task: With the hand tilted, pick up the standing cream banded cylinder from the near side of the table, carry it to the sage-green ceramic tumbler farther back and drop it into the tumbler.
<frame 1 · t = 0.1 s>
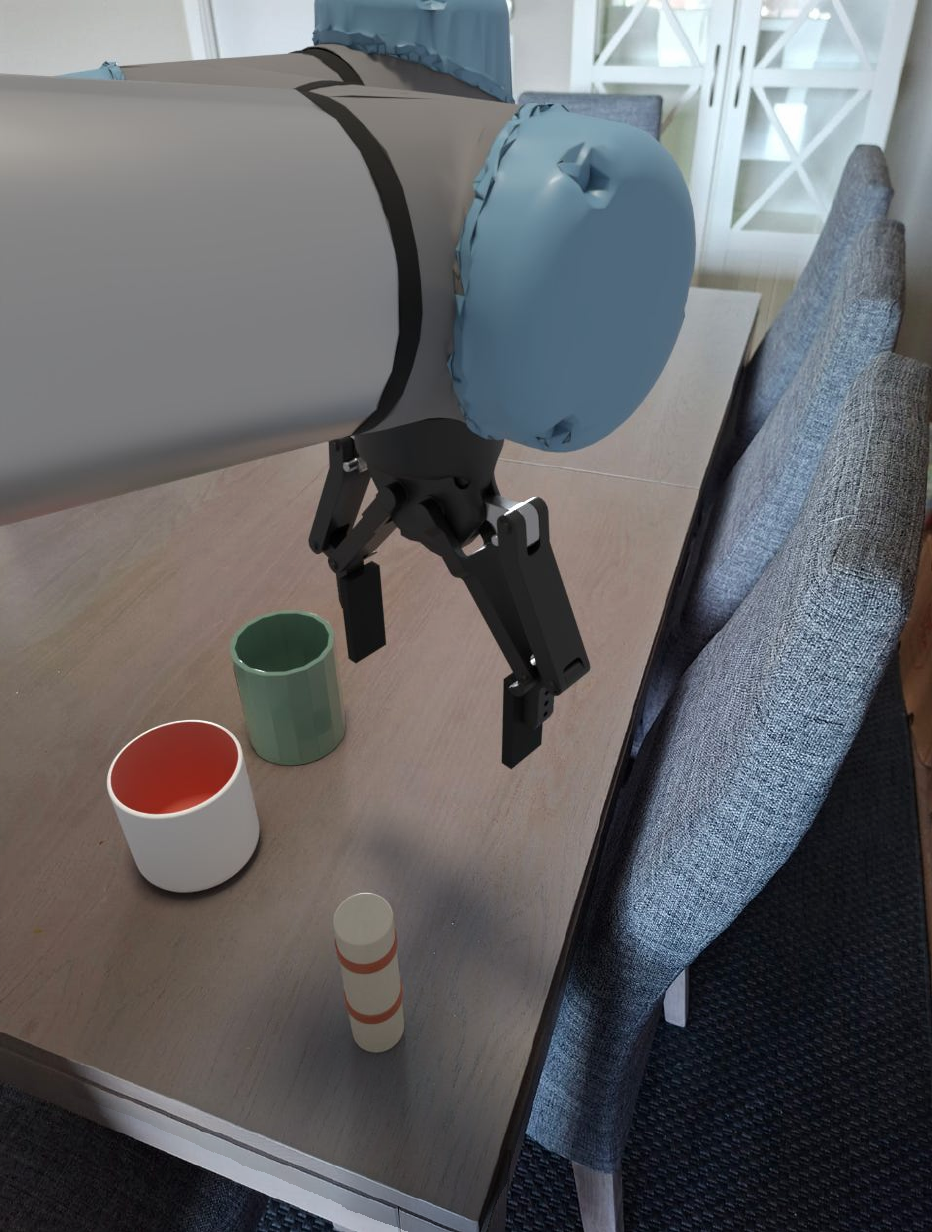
hand: (439, 699, 55), 22 cm above the table, tool pointing down, fingers open, 13 cm apart
cream banded cylinder: (378, 1026, 60), on the table
tumbler: (298, 730, 83), on the table
cup: (201, 849, 73), on the table
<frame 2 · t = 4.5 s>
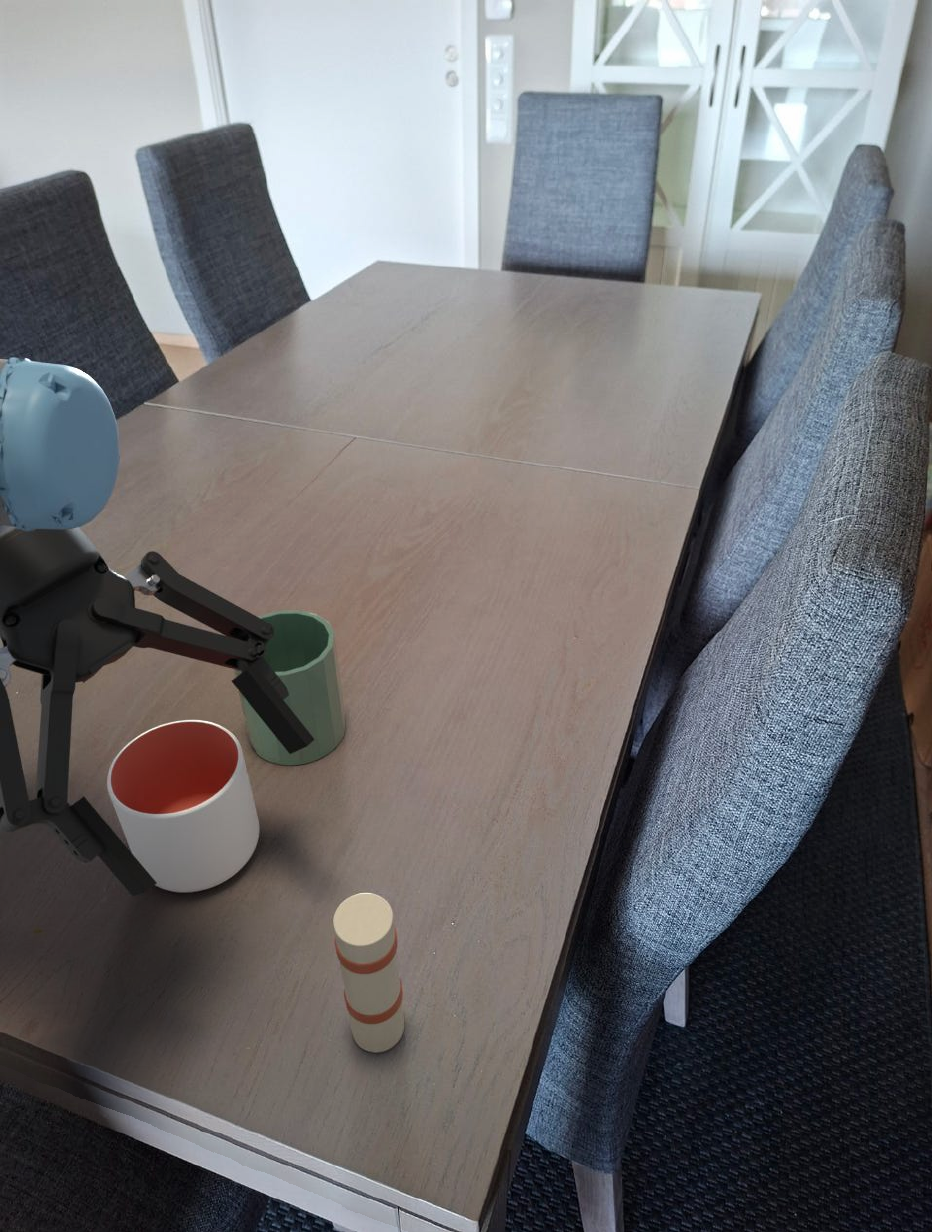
hand: (230, 813, 55), 16 cm above the table, tool tilted 45°, fingers open, 13 cm apart
nothing on the table moved.
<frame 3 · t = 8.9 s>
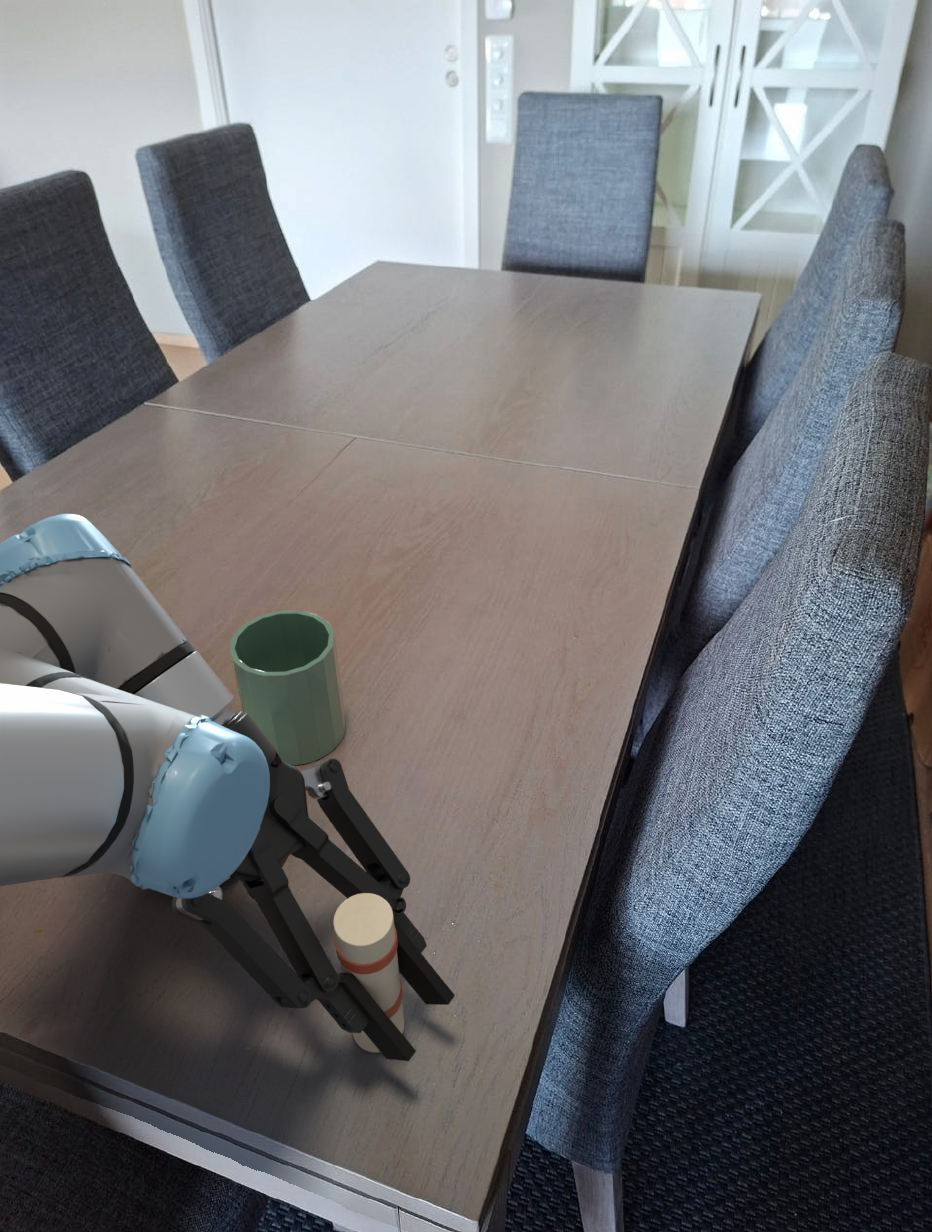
hand: (420, 1026, 56), 4 cm above the table, tool tilted 45°, fingers closed on cream banded cylinder, 4 cm apart
cream banded cylinder: (378, 1026, 60), on the table, touching gripper
everything else where it was.
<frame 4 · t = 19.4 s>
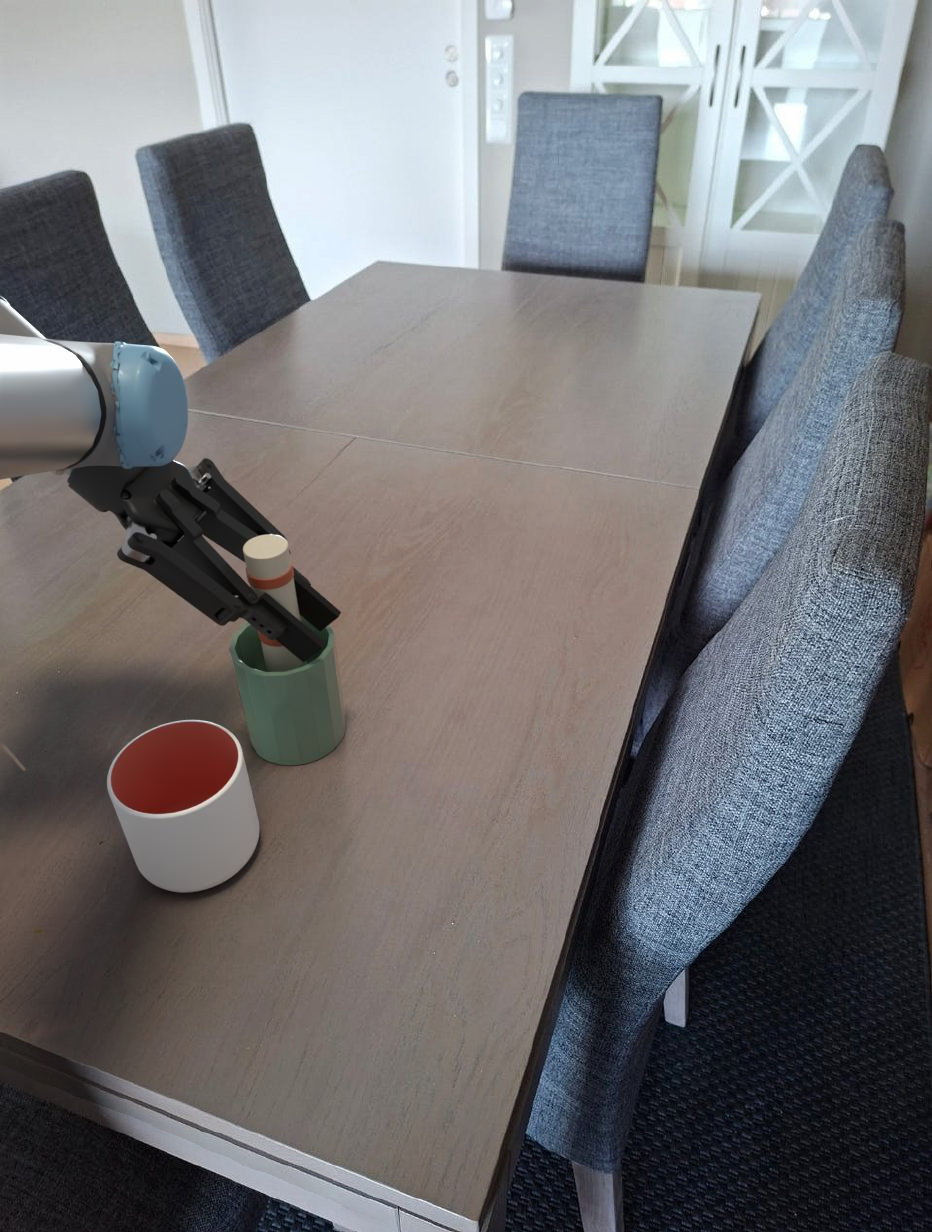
hand: (322, 636, 75), 12 cm above the table, tool tilted 45°, fingers closed on cream banded cylinder, 3 cm apart
cream banded cylinder: (287, 667, 78), point 8 cm above the table, touching gripper
everything else where it was.
when the fingers open (12 cm above the table, at t = 20.0 s): cream banded cylinder drops 7 cm, resting on tumbler.
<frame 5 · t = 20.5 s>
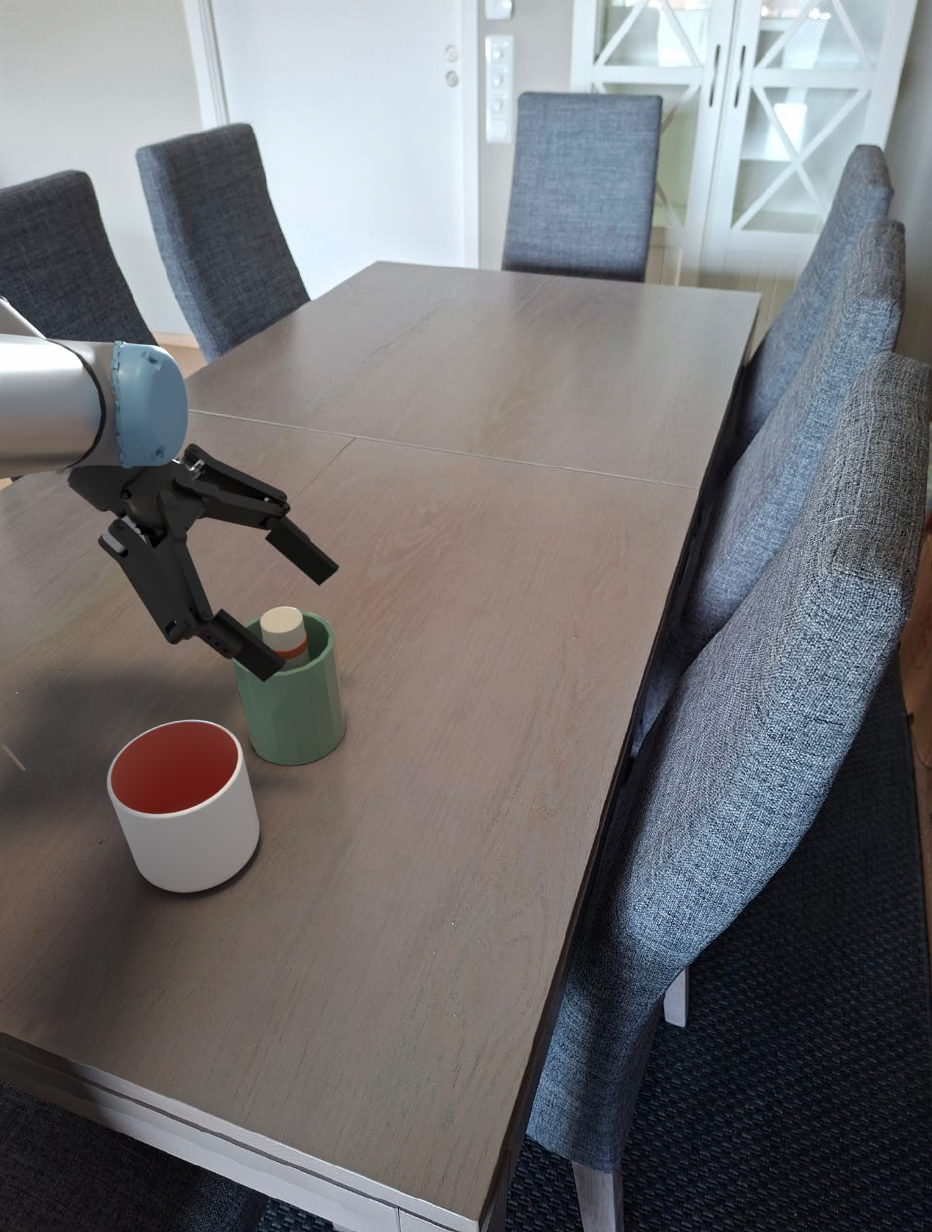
hand: (304, 621, 74), 14 cm above the table, tool tilted 45°, fingers open, 13 cm apart
cream banded cylinder: (300, 725, 83), point 1 cm above the table, touching tumbler
everything else where it was.
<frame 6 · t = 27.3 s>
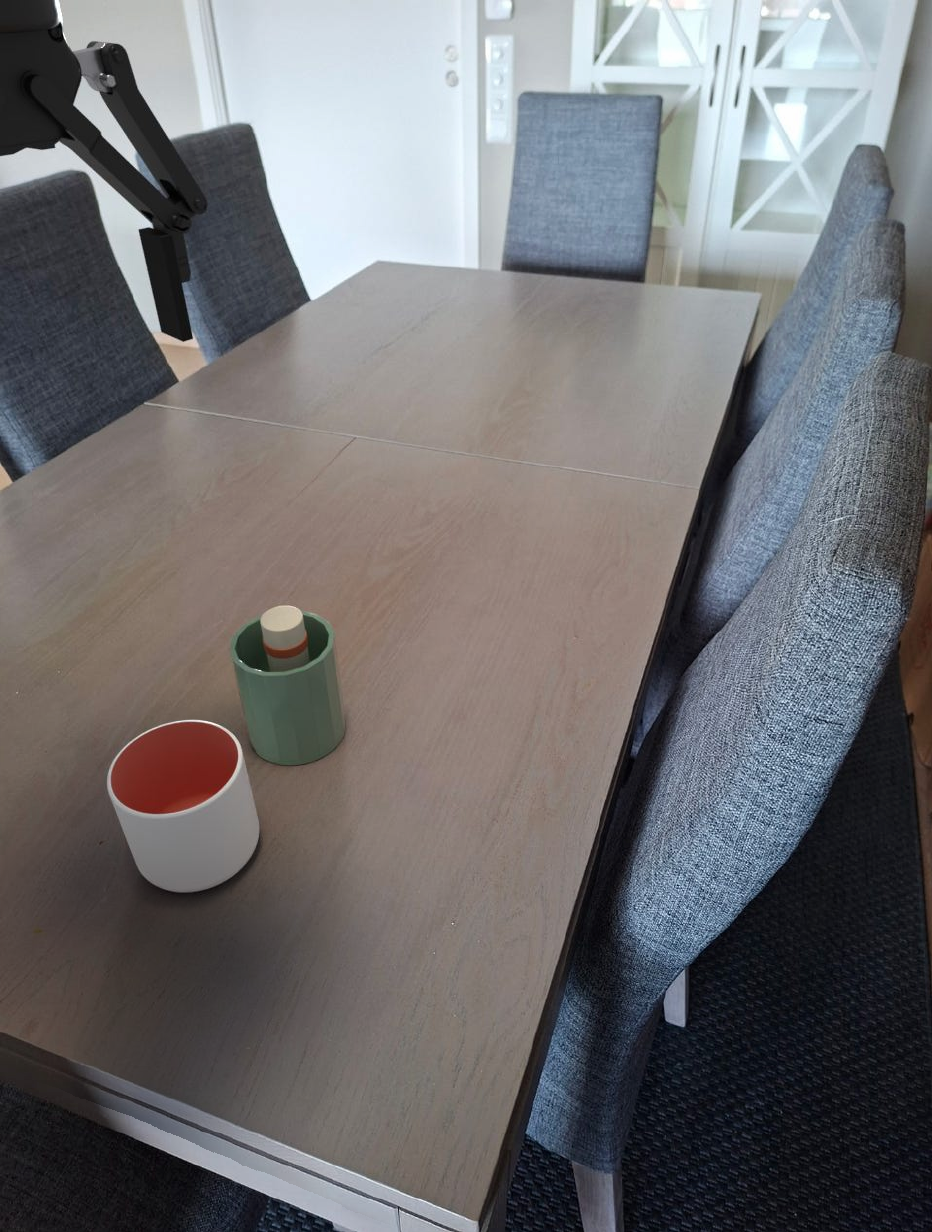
hand: (81, 365, 54), 39 cm above the table, tool pointing down, fingers open, 13 cm apart
nothing on the table moved.
at the end: cream banded cylinder inside the target area in the tumbler (0.3 cm from its centre), point 0.6 cm above the tumbler's base; the gripper is holding nothing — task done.
